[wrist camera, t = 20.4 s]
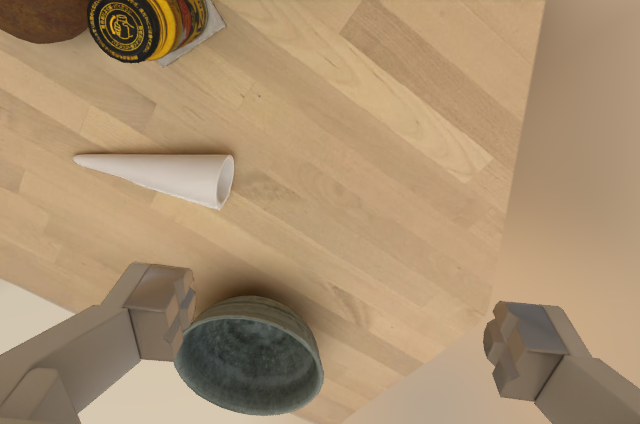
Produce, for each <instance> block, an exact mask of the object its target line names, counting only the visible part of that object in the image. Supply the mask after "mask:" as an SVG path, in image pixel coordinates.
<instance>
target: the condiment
mask: <svg viewBox="0 0 640 424" xmlns="http://www.w3.org/2000/svg"><path fill="white" fill-rule="evenodd" d="M87 19H88V25H89V29H90V33H91V35H92V37H93V38H94V40H95V41H96V43H97V44H98V45H99V47H100V48H101V49H102V50H103V51H104V52H105V53H107V54H108V55H109V56H110V57H112V58H115V59H117V60H119V61H121V62H123V63H139V62H141V61H146V60H148V61H151V60H158V62H159V63H160V65H161V66H162V67H163V68H164V67H166V66H167V65H169V64H170V63H172V62H173V61H175V60H176V59H178V58H179V57H180V56H182V55H184V54H185V53H187V52H188V51H190V50H191V49H193V48H194V47H196V46H197V45H199V44H200V43H202V42H203V41H205V40H206V39H208V38H209V37H211V36H212V35H214V34H215V33H217V32H218V31H220V30H221V29H223V28H224V27H225V26H226V25H225V23H224V21H223V20H222V18H221V16H220V15H219V13H218V12H217V10H216V8H215V6H214V5H213V3H212V2H211V0H90V1H89V3H88V6H87Z"/></svg>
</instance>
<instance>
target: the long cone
mask: <svg viewBox="0 0 640 424" xmlns="http://www.w3.org/2000/svg"><path fill="white" fill-rule="evenodd" d="M72 160H73V162H75V163H76V164H78V165H81V166H83V167H86V168H90V169H93V170H97V171H100V172H103V173H107V174H110V175H114V176H117V177H120V178H124V179H127V180H130V181H131V183H133V184H136V185H139V186H143V187H146V188H149V189H152V190H155V191H159V192H162V193H165V194H168V195H172V196H175V197H178V198H181V199H184V200H188V201H191V202H194V203H197V204H200V205H204V206H207V207H210V208H213V209H217V210H220V209H221V208H222V206H223V205H224V203H225V202H226V200H227V199H228V197H229V195H230V190H231V186H232V182H233V177H234V159H233V156H232V155H171V154H81V155H76V156H74V157H73V158H72Z"/></svg>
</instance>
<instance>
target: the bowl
mask: <svg viewBox="0 0 640 424" xmlns="http://www.w3.org/2000/svg"><path fill="white" fill-rule="evenodd" d="M182 334H183V343H182V345H181V347H180V349H179V352H178V354H177V356H176V358H175V361H174V366H175V368H176V370H177V372H178V373H179V375H180V377H181V378H182V379H183V381H184V382H185V383H186V384H187V386H188V387H189V388H191V389H192V390H193V391H194V392H195V393H196V394H197V395H199V396H200V397H202V398H204V399H206V400H207V401H209V402H211V403H213V404H215V405H217V406H219V407H221V408H225V409H228V410H231V411H234V412H238V413H243V414H248V415H261V416H267V415H280V414H284V413H289V412H293V411H295V410H298V409H300V408H302V407H304V406H305V405H307V404H308V403H310V402H311V401H312V400H313V399H314V398H315V396H316V395H317V394H318V393H319V391H320V389H321V387H322V384H323V379H324V371H323V368H322V364H321V360H320V356H319V351H318V347H317V344H316V341H315V338H314V336H313V334H312V332H311V330H310V329H309V327H308V325H307V324H306V323H305V322H304V321H303V320H302V319H301V317H300V316H299V315H298V314H297V313H296V312H294V311H293V310H292V309H290V308H289V307H288V306H286V305H284V304H282V303H280V302H277V301H275V300H272V299H269V298H266V297H259V296H238V297H232V298H228V299H225V300H223V301H220V302H218V303H216V304H214V305H213V306H211V307H210V308H208V309H206V310H205V311H204V312H202V313H201V314H200V315H199V316H198V317H197V318H196V319H195V320H194V321H193V322H192V323H191V324H190V327H189V328H187V329H186V330H184V331H183V332H182Z"/></svg>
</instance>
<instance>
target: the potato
mask: <svg viewBox="0 0 640 424" xmlns="http://www.w3.org/2000/svg"><path fill="white" fill-rule="evenodd" d="M89 1H90V0H0V29H1V30H3V31H5V32H7V33H9V34H11V35H13V36H15V37H17V38H19V39H22V40H26V41H29V42H32V43H37V44H45V43H54V42H61V41H65V40H69V39H72V38H74V37H76V36H77V35H79V34H81V33H82V32H83V31H85V30H86V28H87V27H88V26H89V25H88V19H87V6H88V3H89Z"/></svg>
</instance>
